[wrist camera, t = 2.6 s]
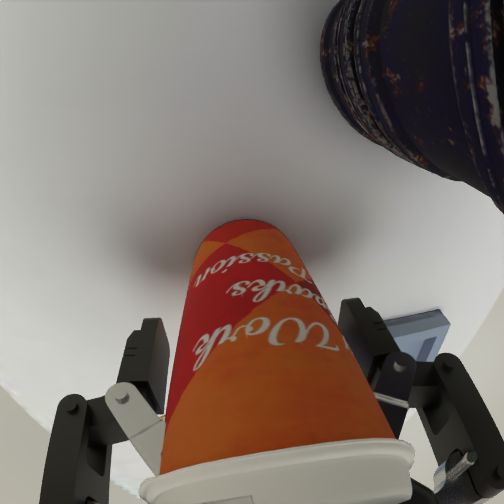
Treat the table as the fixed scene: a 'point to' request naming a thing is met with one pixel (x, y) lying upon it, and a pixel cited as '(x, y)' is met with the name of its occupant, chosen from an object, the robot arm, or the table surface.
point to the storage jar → (423, 82)
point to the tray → (420, 334)
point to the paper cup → (269, 389)
